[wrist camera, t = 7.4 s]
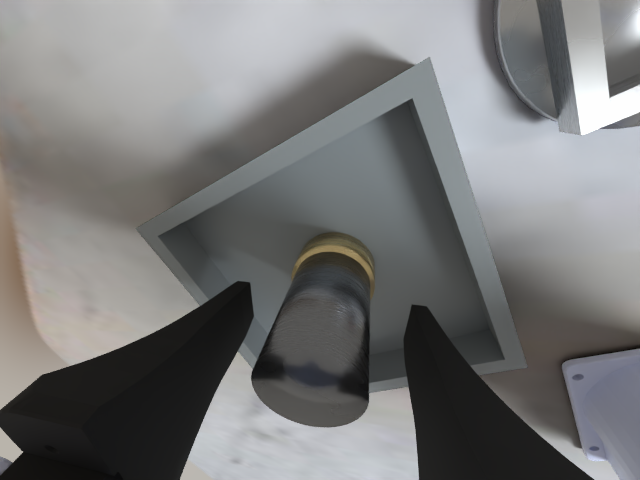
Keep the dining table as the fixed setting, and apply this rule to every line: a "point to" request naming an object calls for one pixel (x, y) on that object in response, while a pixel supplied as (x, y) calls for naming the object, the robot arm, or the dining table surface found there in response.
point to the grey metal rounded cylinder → (321, 336)
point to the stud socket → (573, 60)
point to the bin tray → (355, 227)
